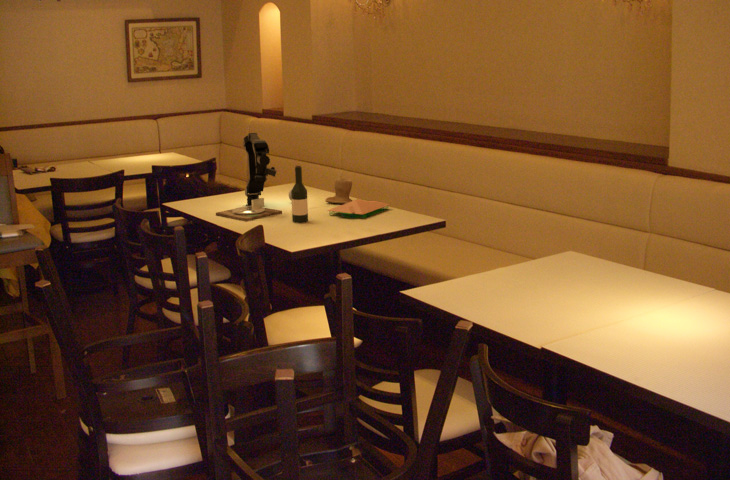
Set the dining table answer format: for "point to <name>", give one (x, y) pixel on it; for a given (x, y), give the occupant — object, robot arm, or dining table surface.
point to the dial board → (248, 217)
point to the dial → (251, 208)
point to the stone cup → (341, 192)
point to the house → (359, 208)
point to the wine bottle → (299, 199)
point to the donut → (290, 194)
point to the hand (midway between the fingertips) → (262, 191)
